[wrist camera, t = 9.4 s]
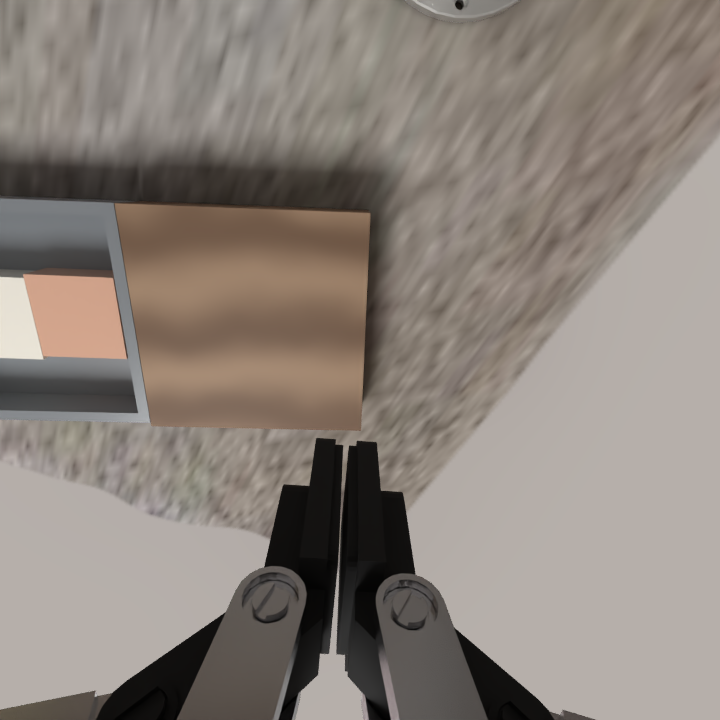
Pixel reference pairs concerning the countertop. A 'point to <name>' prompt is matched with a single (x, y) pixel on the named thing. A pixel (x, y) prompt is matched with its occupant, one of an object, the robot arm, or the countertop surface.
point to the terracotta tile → (76, 313)
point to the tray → (70, 374)
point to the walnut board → (248, 313)
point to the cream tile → (17, 318)
